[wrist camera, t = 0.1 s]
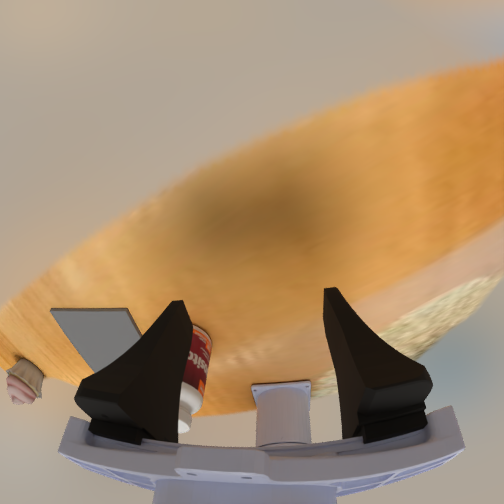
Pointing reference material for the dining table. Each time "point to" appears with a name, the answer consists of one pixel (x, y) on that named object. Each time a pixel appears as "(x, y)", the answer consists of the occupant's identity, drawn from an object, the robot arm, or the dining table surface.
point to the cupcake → (24, 382)
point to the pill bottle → (194, 378)
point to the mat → (98, 333)
